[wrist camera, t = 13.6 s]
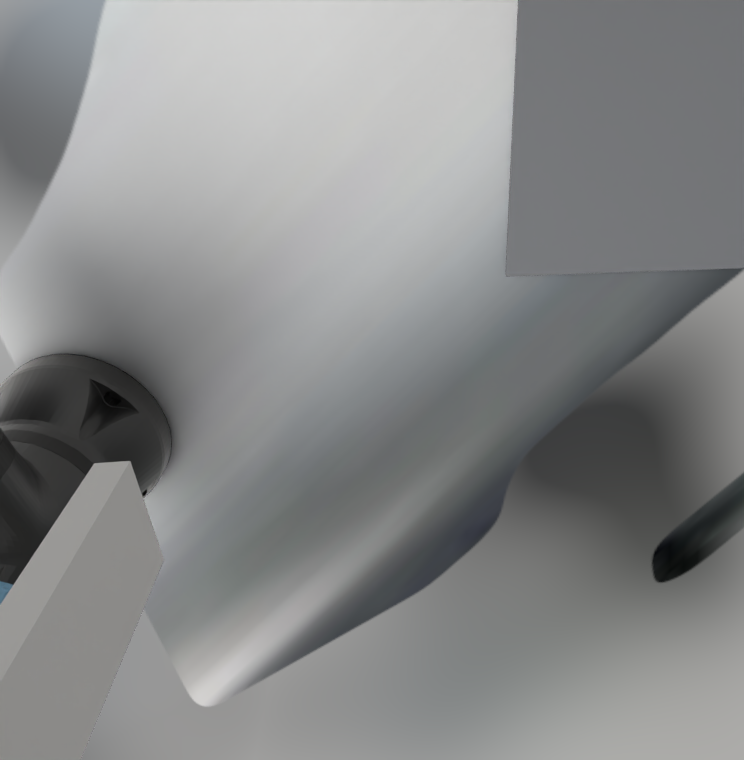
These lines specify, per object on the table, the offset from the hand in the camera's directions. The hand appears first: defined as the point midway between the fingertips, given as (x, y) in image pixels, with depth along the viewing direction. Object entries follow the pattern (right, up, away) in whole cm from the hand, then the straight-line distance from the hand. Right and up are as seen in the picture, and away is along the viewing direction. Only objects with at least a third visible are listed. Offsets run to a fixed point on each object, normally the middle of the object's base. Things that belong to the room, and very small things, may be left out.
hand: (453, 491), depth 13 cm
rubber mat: (+18, +19, +29) cm, 39 cm away
